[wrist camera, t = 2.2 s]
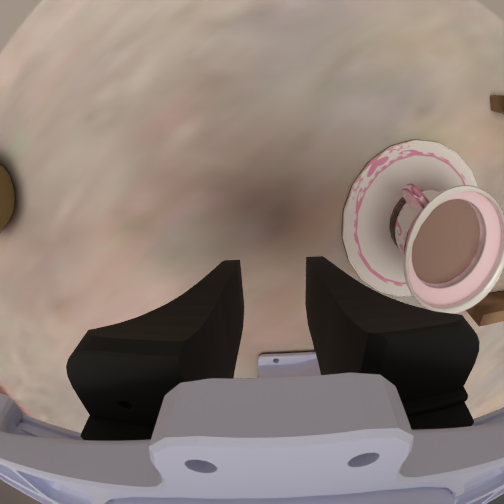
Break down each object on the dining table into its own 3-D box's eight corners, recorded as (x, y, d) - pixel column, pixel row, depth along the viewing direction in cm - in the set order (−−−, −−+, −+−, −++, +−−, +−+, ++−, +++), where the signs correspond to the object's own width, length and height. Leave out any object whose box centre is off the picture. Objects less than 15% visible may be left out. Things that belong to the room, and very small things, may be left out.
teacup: (496, 222, 20) (542, 252, 14) (400, 318, 24) (427, 367, 18) (422, 104, 17) (475, 104, 11) (305, 223, 21) (319, 263, 15)
